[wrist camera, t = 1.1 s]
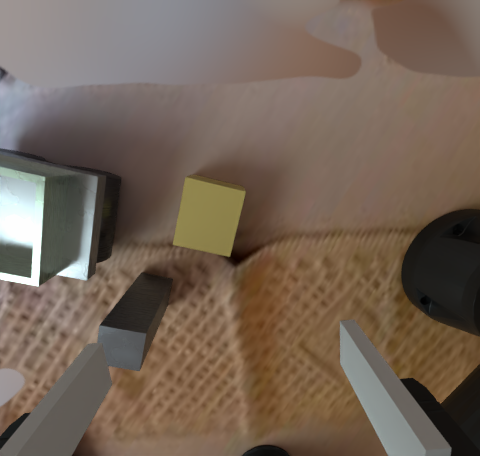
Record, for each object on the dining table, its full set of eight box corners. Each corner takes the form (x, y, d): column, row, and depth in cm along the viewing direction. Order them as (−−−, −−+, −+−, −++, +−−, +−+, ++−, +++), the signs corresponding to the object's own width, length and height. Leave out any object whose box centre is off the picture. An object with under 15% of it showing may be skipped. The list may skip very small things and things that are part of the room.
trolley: (130, 172, 30) (78, 179, 20) (119, 253, 32) (68, 296, 22) (1, 142, 29) (-127, 132, 18) (-1, 228, 31) (-115, 262, 21)
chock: (243, 186, 31) (245, 191, 26) (229, 241, 33) (229, 256, 27) (193, 174, 30) (185, 177, 25) (182, 230, 32) (172, 244, 27)
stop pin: (172, 278, 33) (146, 333, 23) (167, 306, 34) (139, 371, 24) (141, 272, 33) (99, 325, 22) (136, 300, 34) (94, 363, 23)
